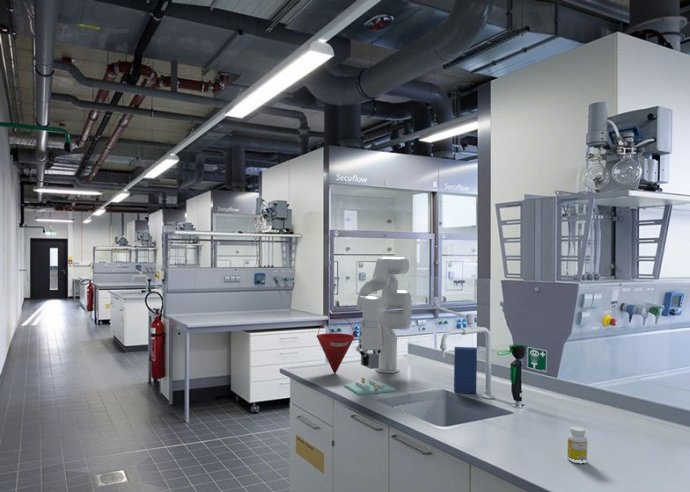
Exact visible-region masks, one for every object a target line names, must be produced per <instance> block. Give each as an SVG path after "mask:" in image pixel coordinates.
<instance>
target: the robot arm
mask: <svg viewBox="0 0 690 492" xmlns="http://www.w3.org/2000/svg"><path fill="white" fill-rule="evenodd" d="M409 269H410V262H409V259H408V258H406V257H394V256H392V257H390V256H383V257H379V258H377V259H376V263H375V266H374V271H373V274H372V277H371V279H370V280H368V281H367V282H366V283H364V285H363V286H361V288H360V290H359V293H358V296H357V299H356V300H357V301H356V307H357V310H359V311H360V312H362V321H360V322H359V326H361V327H360V331H359V336H358V344H357V347H356V348H355V351H356V352H357V353H359V354H360V356H361V355H362V363H363V365H364V366H363V365H362V366H363V367H365V366H367V357H366V355H367V351H372V353H375V354H378V355H379V368H377V369H375V371H376V372H378V373H382V374H383V373H385V374H395V373H399V372H400V368H399V367H397V364H398V363H397V359H398V357H397V356H398V337H397V334H396V332H395V330H402V331H406V330H409V329H410V327H411V325H412V324H411V323H412V295H411V293H410V292H409V291H407V290H399V280H398V278H397V277H396V275H405V274H407V273H408V272H409ZM378 291H381V296H378V295H371V294H373V293H375V292H378ZM387 309H398V310H399V309H401V310H402V311H400V310H399V311H398V310H387Z"/></svg>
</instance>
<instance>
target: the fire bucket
mask: <svg viewBox="0 0 690 492" xmlns="http://www.w3.org/2000/svg"><path fill="white" fill-rule="evenodd" d="M335 316H337V317H340V318H343V319H344V320H345V321H347V322H348V323H349V325H350V326H351V330H352V332H353V333H352V334H347V333H340V332H339V333H336V332H333V333H332V332H331V333H321V334H320V330H321V327H322V325H323V324H324V322H326V321H327V320H329V319H330V318H333V317H335ZM324 322H322V323H321V324H320V326H319V329H318V333H317V335H316V338H317V340H318V342H319V345H320V346H321V349H322V351H323V354H324V355H325V357H326V360H327V361H328V364H329V366H330V368H331V370H332V372H333V374H336V373H337V372H338V370H339V368H340V366H341V364H342V362H343V360H344V358H345V356H346V354H347V352H348V351H349V349H350V347H351V345H352V343H353V341H354V339H355V337H356V336H355V331H354V328H353V326H352V324H351V322H350V321H349V320H348V319H346V318H345V317H343V316H341V315H337V314H335V315H332V316H331V315H330V316H329V317H327V318H326V319H324Z"/></svg>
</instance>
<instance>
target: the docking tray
mask: <svg viewBox="0 0 690 492" xmlns="http://www.w3.org/2000/svg"><path fill="white" fill-rule="evenodd" d="M365 379H366V378H365V377H364V376H362V377H361V379H360V381H359V380H356V381H355V382H351V383H344V384H343V387H344V388H347V390H350V391H352V392H354V393H355V394H357V395H359V396H363V395H373V394H382V393H392V392H393V393H394V392H396V388H394V387H392V386H390V385H388V384H386V383H384V382H382V381H379V380H374V379H369V381H366V380H365Z"/></svg>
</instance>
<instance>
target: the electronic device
mask: <svg viewBox="0 0 690 492" xmlns="http://www.w3.org/2000/svg"><path fill="white" fill-rule="evenodd" d="M453 360H454V361H453V362H454V364H453V365H454V366H453V369H454V370H453V392H454V393H455V394H471V395H472V394H473V395H474V394H475V395H476V394H477V378H478V377H477V375H478V374H477V373H478V372H477V371H478V369H477V367H478V361H477V360H478V348H476V347H474V346H473V347H470V346H468V347H467V346H454V359H453Z"/></svg>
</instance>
